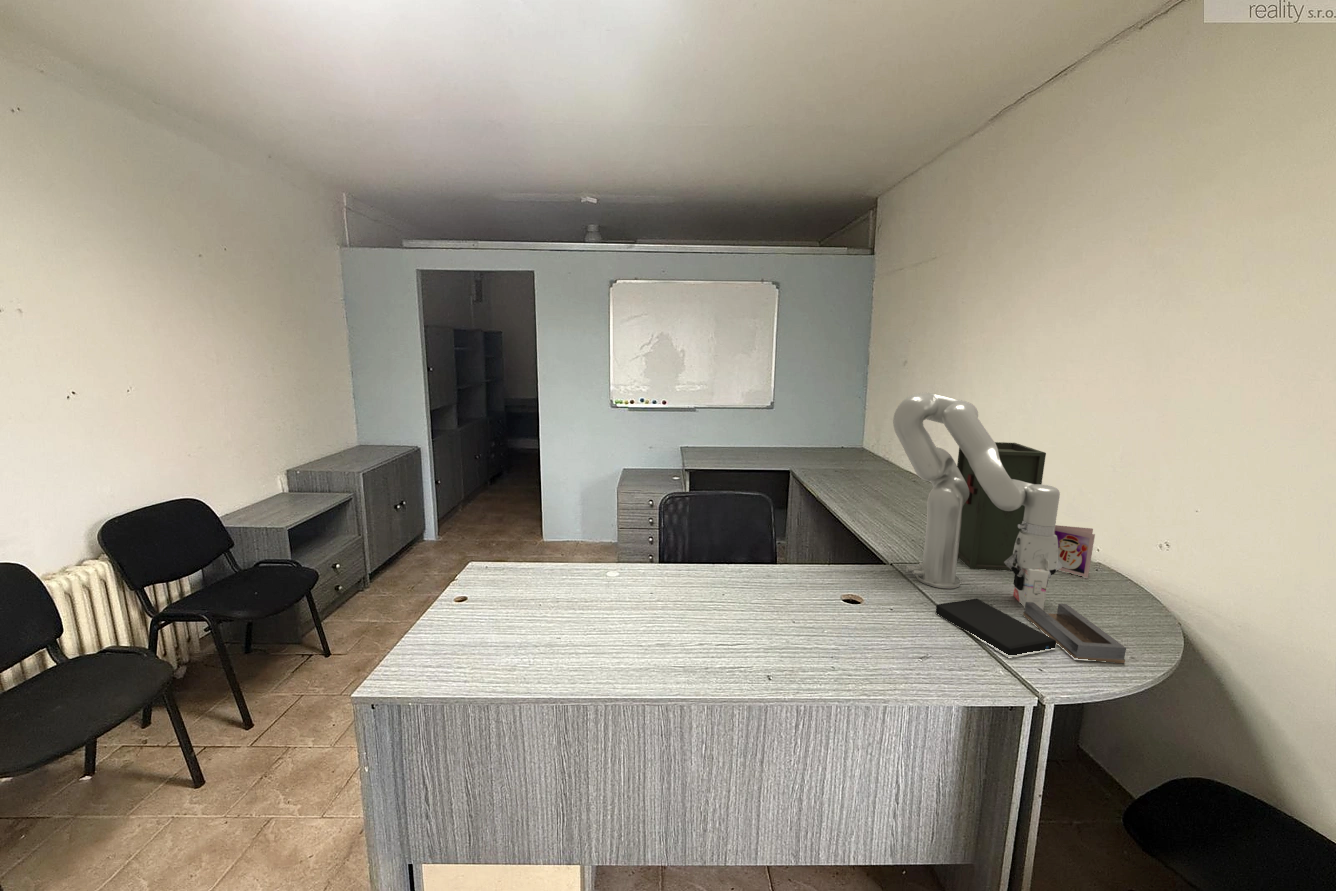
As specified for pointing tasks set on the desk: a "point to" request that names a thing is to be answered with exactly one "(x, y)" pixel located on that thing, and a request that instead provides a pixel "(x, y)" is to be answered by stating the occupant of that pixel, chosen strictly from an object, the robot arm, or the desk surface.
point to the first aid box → (995, 509)
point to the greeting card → (1075, 549)
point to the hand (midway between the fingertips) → (1029, 588)
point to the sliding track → (1076, 634)
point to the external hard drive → (995, 627)
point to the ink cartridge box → (1033, 586)
